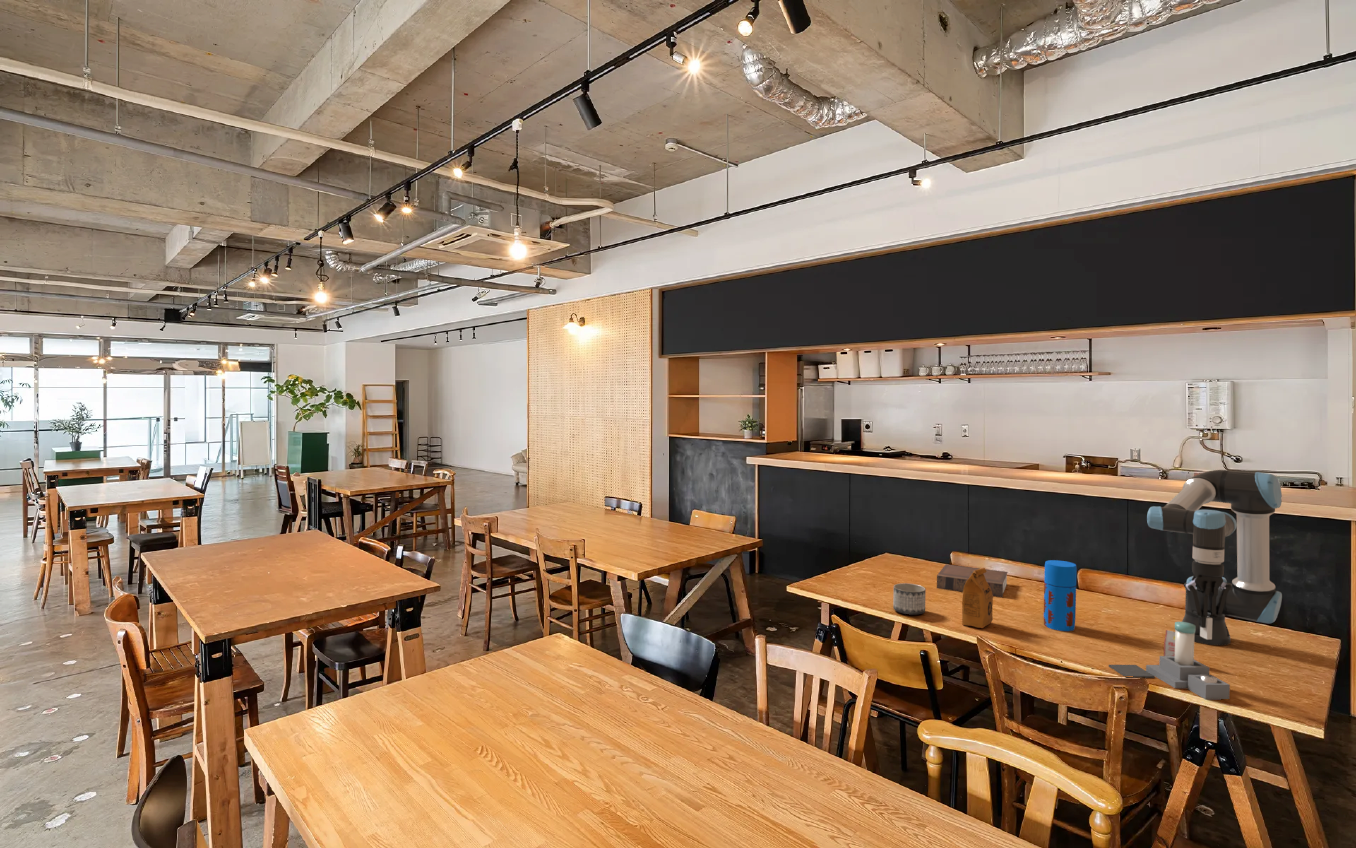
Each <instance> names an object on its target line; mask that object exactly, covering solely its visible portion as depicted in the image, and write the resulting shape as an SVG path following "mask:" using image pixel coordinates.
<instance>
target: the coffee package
mask: <svg viewBox="0 0 1356 848" xmlns="http://www.w3.org/2000/svg"><path fill="white" fill-rule="evenodd" d="M986 569H987V568H985V567H982V568H980V569H978V570H975V571H974V572H973V573H972V575H971V576H970V577H969V579H968V580H967V581H966V583H965V585H964V590H963V592H962V600H961V610H962V614H961V615H962V617H961V619H962V620H961V624H962V625H963V626H968V627H973V628H978V629H979V628H981V629H983V628H985V627H986V626H988V625H990V624H991V623H992V622H993V619H994V618H993V617H994V616H993V606H994V605H993V603H994V596H993V595H992V591H991V588H990V586H989V585H988V583H987V582H986V579H985V576H984V573H986V572H987V571H986Z"/></svg>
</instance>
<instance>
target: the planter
mask: <svg viewBox="0 0 1356 848" xmlns="http://www.w3.org/2000/svg"><path fill="white" fill-rule="evenodd" d="M926 589H927V588H925V587H924V586H922V585H920V584H915V583H907V582H905V583H904V582H903V583H897V584H894V585H893V593H892V594H893V596H892V597H893V600H892V601H893V603H892V605H893V610H894V611H895V612H898V613H900V614H904V615H906V614H909V615H908V616H915V615H916V616H917V615H922V614H925V613H926V593H927V592H926Z"/></svg>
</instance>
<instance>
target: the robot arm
mask: <svg viewBox="0 0 1356 848" xmlns="http://www.w3.org/2000/svg"><path fill="white" fill-rule="evenodd" d="M1282 497H1283V495H1282V487H1281V484H1280V481H1279V479H1278V477H1277V476H1276V475H1274V474H1272V473H1266V472H1260V471H1245V470H1244V471H1242V470H1226V469H1215V470H1214V469H1213V470H1209V471H1205V472H1201V473H1199V474H1196V475H1193V476H1192V477H1190V478H1188V479H1187V480H1186V481H1185V482H1184V483H1183V485H1182V489H1181V490H1180V491H1179V492H1178V493H1177V494H1175V496H1174V497H1173V498H1172V499H1171V500H1170V501H1169V502H1167V503H1166V504H1165V505H1164V506H1154V505H1153V506H1150V507H1149V508H1148V511H1147V515H1146V521H1147V526H1148V528H1151V529H1155V530H1158V531H1159V530H1160V531H1167V532H1172V533H1173V532H1174V533H1181V534H1190V535H1192V559H1193V560H1192V563H1191V570H1192V571H1191V572H1192V574H1193V575H1192V576H1189V577H1188V578H1187V579H1186V582H1185V583H1183V587H1184V588H1185V599H1184V600H1185V602H1184V603H1185V607H1184V617H1183V618H1182V621H1181V622H1187V623H1191V624H1194V625H1195V626H1196V628H1195V634H1194V643H1200V644H1203V645H1204V644H1205V645H1212V646H1228V645H1230V644H1231V635H1230V632H1229V629H1228V626H1227V622H1226V616H1229V617H1234V618H1239V619H1243V620H1248V621H1253V622H1256V623H1263V624H1272V623H1274V622H1275V621H1276V620H1277V618H1278V615H1279V613H1280V609H1281V606H1282V599H1283V594H1282V592H1281V591H1279V590H1276V585H1275V583H1274V582H1272V581H1271V580H1270V516H1271V515H1273V514H1274V513H1276V509H1278V508H1280V507H1281V506H1282ZM1214 502H1215V503H1222V504H1230V509H1231V511H1232V512H1234V513H1235V514H1236V518H1234V516H1233V515H1231V514H1230V513H1228V512H1225V511H1220V510H1216V509H1200V508H1202V507H1203V506H1204V505H1205V504H1210V503H1214ZM1235 531H1236V556H1237V558H1236V559H1237V562H1236V565H1237V566H1236V567H1237V571H1236V572H1237V574H1236V575H1237V576H1236V577H1235V578H1233V579H1232V581H1231V583H1230V582H1228V581H1227V579H1226V578H1225V577H1223V576H1224V575H1225V573H1224V572H1225V564H1223V563H1224V562H1225V543H1226V537H1229V536H1231V535H1233V533H1234V532H1235Z"/></svg>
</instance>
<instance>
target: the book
mask: <svg viewBox="0 0 1356 848" xmlns="http://www.w3.org/2000/svg"><path fill="white" fill-rule="evenodd" d="M978 569H981V568H979V567H972V566H962V565H954V564H948V563H947V564H945V565H944V566H943V567H942V569H940V571H939V572H938V574H937V575H936V589H940V590H947V591H954V592H961V593H963V590H964V585H965V583H966V581H967V580H968V579H969V577H970V576H971V575H972V573H973V572H974V571H975V570H978ZM985 569H986V571H987V572H986V573H984V576H985V579H986V582H987V583H988V585H989V586H990V588H991V591H992V595H993V597H997V598H1003V596H1004V592H1005V590H1006V588H1007V583H1008V581H1007V580H1008V578H1007V577H1008V573H1009V572H1008V571H1003V570H996V569H995V570H994V569H987V568H985Z"/></svg>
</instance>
